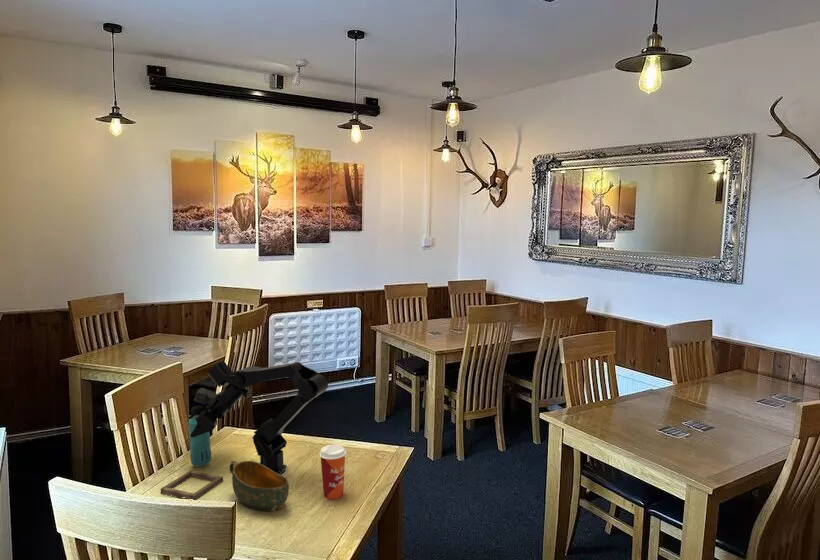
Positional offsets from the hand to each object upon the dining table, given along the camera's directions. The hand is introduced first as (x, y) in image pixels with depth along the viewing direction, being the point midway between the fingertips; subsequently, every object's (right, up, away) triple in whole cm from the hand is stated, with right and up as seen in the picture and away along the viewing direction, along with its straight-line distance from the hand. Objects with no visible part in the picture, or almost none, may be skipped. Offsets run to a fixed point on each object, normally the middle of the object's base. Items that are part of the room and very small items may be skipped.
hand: (195, 431), depth 179 cm
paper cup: (+47, -14, -18) cm, 53 cm away
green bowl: (+27, -15, -22) cm, 37 cm away
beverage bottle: (+2, -12, +1) cm, 12 cm away
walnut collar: (+4, -13, -13) cm, 19 cm away
